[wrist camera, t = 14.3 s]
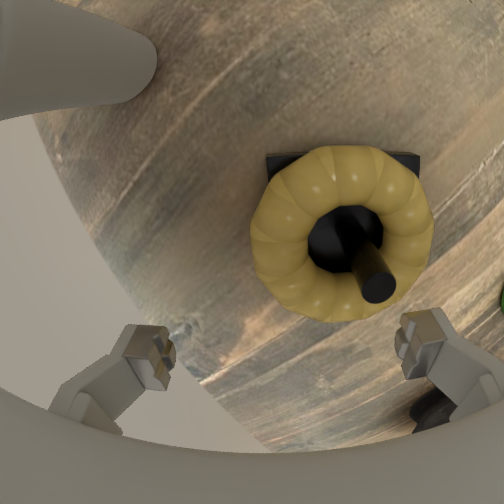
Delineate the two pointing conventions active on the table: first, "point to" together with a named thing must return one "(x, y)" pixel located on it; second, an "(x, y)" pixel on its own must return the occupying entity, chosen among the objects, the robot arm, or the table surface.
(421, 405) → the pitcher
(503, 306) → the bottle
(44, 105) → the beverage can
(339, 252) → the post
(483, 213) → the table surface
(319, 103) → the table surface
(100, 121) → the table surface
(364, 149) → the ring doughnut
